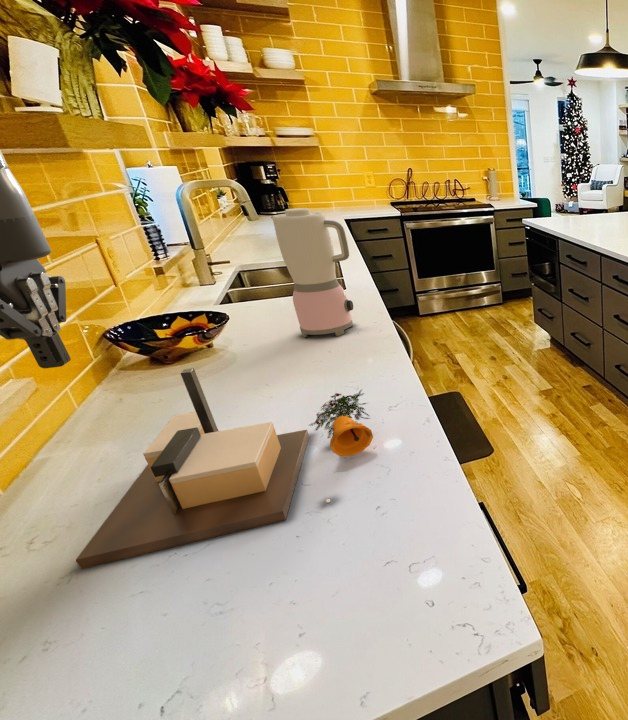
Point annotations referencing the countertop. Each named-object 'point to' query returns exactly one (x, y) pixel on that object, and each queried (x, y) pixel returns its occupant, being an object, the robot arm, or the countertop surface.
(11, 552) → the countertop surface
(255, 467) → the tan rounded box
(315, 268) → the blender
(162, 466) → the knife
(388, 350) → the countertop surface
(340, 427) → the christmas decoration
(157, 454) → the slice
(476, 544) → the countertop surface
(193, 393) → the board
